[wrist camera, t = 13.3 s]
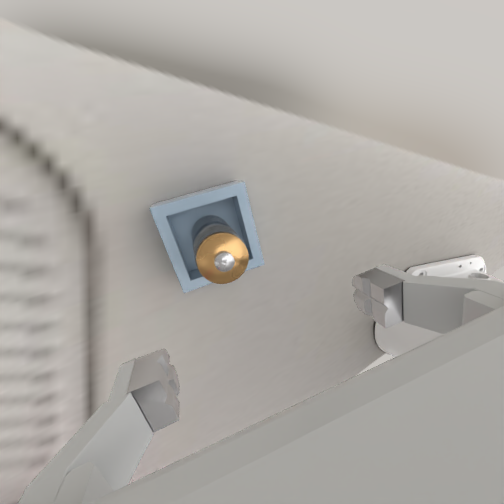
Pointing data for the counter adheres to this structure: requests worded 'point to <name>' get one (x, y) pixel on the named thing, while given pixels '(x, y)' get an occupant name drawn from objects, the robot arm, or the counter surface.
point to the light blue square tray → (192, 209)
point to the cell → (218, 250)
